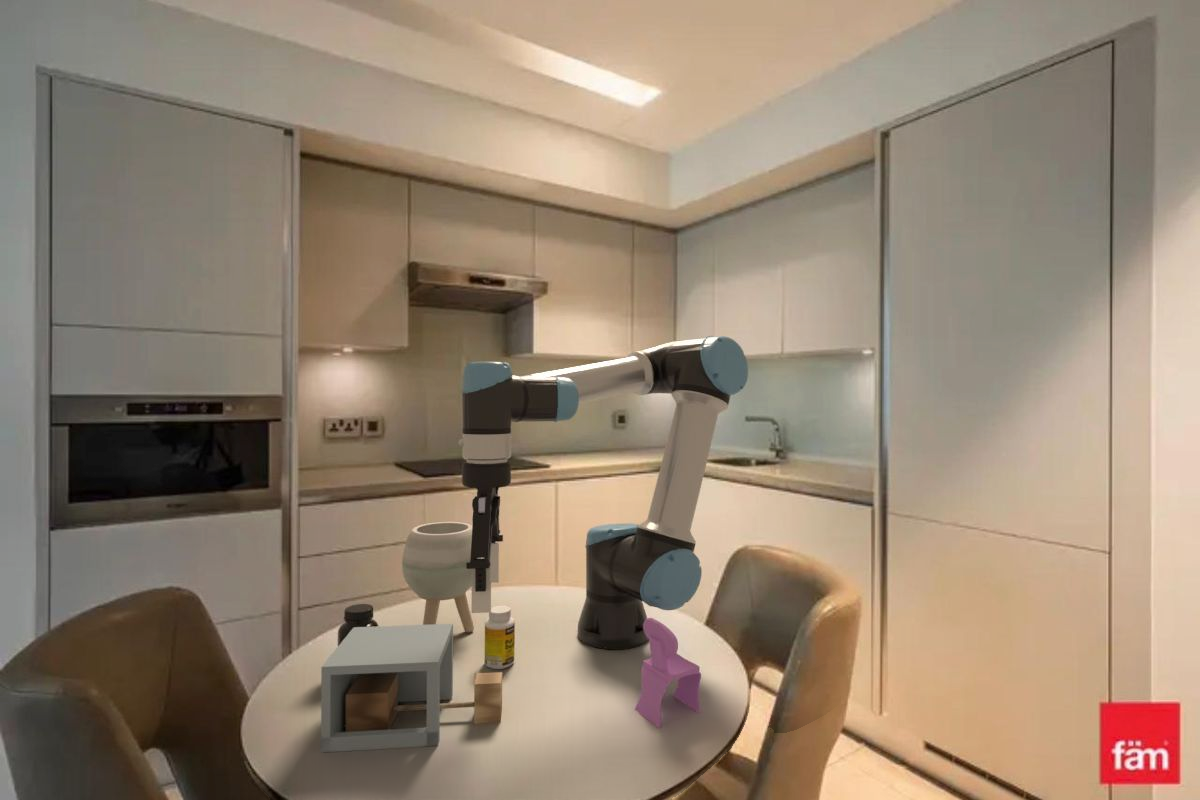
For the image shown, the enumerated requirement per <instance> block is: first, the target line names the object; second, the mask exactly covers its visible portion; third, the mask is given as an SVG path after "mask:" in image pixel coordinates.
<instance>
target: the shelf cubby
mask: <svg viewBox="0 0 1200 800" xmlns="http://www.w3.org/2000/svg"><path fill="white" fill-rule="evenodd" d="M337 646H338V645H337ZM453 659H454V623H438V624H437V623H436V624H431V625H423V624H406V625H384V626H383V625H380V626H379V625H378V626H376V627H354V628H353V629H352V630H351V631H350V632H349V634H348V635H347V636H346V637H345V639H344V640H343V641H342V642H341V644H340V645H339V646H338V647H336V649H335V650H334V651H333V652H332V653H331V654H330V656H329V657H328V659H326V661H325V662H324V663H323V665H322V666H321V671H320V672H321V689H320V690H321V699H320V700H321V702H320V703H321V704H320V705H321V707H320V709H321V711H320V713H321V715H320V716H321V718H320V719H321V723H320V725H321V726H320V727H321V728H320V734H321V735H320V745H321V746H320V747H321V748H320V753H333V752H353V751H369V750H384V749H385V750H387V749H401V748H403V749H404V748H406V749H407V748H420V747H422V748H423V747H436V746H439V744H440V739H441V737H440V735H441V733H440V730H441V729H440V728H441V727H440V721H441V719H440V718H441V717H440V715H441V714H440V713H441V712H440V711H441V710H440V704H441V703H440V702H441V701H442V700H452V699H453V696H454V694H453V693H454V685H453V684H454V678H453V677H454V670H453V669H454V660H453ZM396 673H398V703H399V702H400V703H401V702H419V701H420V702H421V701H426V704H427V709H426V727H414V728H413V727H411V728H395V729H389V730H373V731H355V732H346V731H344V729H346V694H347V692H348V690H349V689H350V687H351V686H352V684H353V683H354V681H355V680H356V678H357V677H358V675H374V674H396ZM440 700H441V701H440Z"/></svg>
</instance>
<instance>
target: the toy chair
mask: <svg viewBox="0 0 1200 800" xmlns="http://www.w3.org/2000/svg"><path fill="white" fill-rule="evenodd" d="M643 630H644V633H645V635H646V636H647V637H648V640H649V641H648V642H649V652H650V658H648V659H644V660H643V661H642V664H643V665H642V667H641V670H640V671H641V672H640V674H641V692H640V696H639V699H638V701H637V703H636V706H635V709H634V710H635V711H636V712H638V713H639V714H640V715H641V716H643V718H645V719H647V720H648V721H649V722H651V723H652V724H653V725H654V726H656V727H657V728H658V729H660V728H662V717H661V716H662V715H661V714H662V713H661V710H662V709H661V708H662V707H661V706H662V700H663V698H664V695H665V693H666V690H667V689H668V686H669V685H670V684H671V683H673V682H676V681H677V680H678V683H677V686H676V689H675V690H674V692H673V694H672V696H673V697H674V698H676V699H678V700H679V701H680V702H682V703H683V704H684V705H686V706H687V707H689V708H690V709H692V710H694V711H695V712H697V713H701V706H700V684H701V680H702V673H701V672H700V666H699V665H698V664H696V663H694V662H692V661H690V660H688V659H686V658H684V657H683V656H681V655H680V654H679V653H677V652H678V650H679V642H678V638H677V637H676V635H675V633H674V632H673V631H672V630H670V628H669V627H667V626H666V625H665V624H663V623H662V622H660V621H659V620H657V619H656V618H653V617H647V619H646V620H645V621H644V624H643Z"/></svg>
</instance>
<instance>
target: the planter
mask: <svg viewBox="0 0 1200 800" xmlns="http://www.w3.org/2000/svg"><path fill="white" fill-rule="evenodd" d="M472 526H473V524H469V523H466V522H459V521H441V522H439V521H438V522H437V521H436V522H429V523H425V524H424V523H423V524H420V525H418V526H414V527H413V528H412V529H411V531H410V532H409V534H408V537H407V539H406V542H405V545H404V548H403V552H402V563H401V564H402V565H401V567H402V575H403V578H404V581H405V583H406V584H407V585H408V587H409V589H410V590H412V592H413V593H415V594H416V595H417V596H418V597H419V598H420V599H423V600H425V605H424V613H423V619H422V621H423V622H422V625H431V624H437V620H438V615H439V609H440V605H441V603H440V602H441V601H448V600H454V603H455V607H456V609H457V613H458V615H459V618H460V622H461V624H462V627H463V631H464V632H466V633H472V632H473V631H474V630H475V625H474V620H473V618H472V615H471V614H472V612H471V610H470V605H469V602H468V598H467V595H466V593H467V592H468V590H469V589H470V588H472V569H467V568H466V563H469V562H470V558H471V542H472ZM477 559H482V558H477Z"/></svg>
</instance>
